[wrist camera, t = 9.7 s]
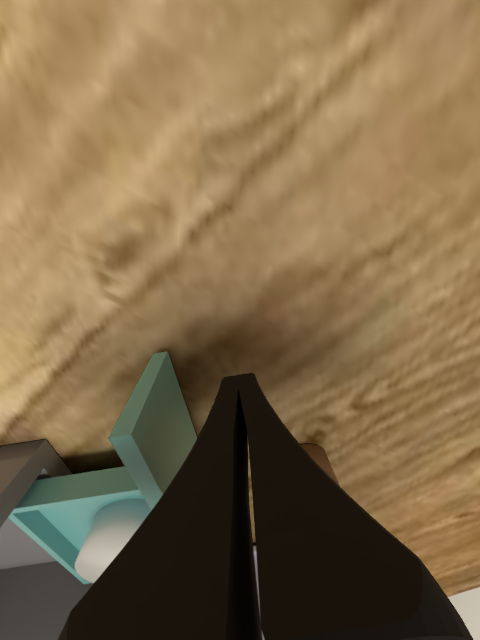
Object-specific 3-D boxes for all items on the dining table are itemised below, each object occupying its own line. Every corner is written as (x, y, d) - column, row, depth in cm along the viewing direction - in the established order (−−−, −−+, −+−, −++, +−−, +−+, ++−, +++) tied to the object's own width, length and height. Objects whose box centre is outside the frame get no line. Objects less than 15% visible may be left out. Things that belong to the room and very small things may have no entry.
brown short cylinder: (325, 468, 16) (349, 529, 13) (284, 474, 16) (298, 536, 13) (325, 440, 15) (352, 500, 12) (281, 447, 15) (296, 509, 12)
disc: (192, 538, 16) (188, 580, 14) (114, 550, 16) (99, 594, 14) (171, 492, 13) (162, 535, 11) (78, 506, 13) (55, 552, 11)
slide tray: (167, 351, 11) (130, 434, 7) (229, 532, 18) (231, 624, 14) (-38, 384, 11) (-199, 486, 7) (108, 551, 19) (75, 647, 14)
